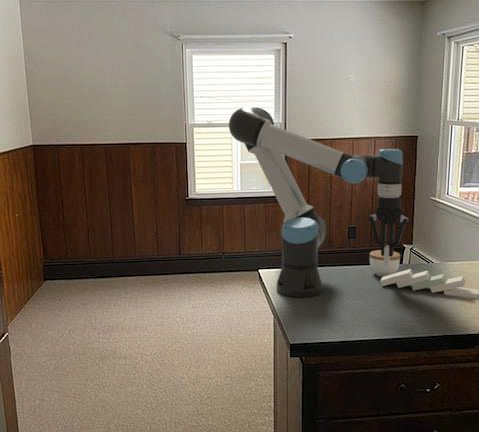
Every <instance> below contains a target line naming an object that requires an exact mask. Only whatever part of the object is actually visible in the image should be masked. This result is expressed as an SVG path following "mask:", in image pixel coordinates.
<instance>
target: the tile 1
mask: <svg viewBox="0 0 479 432" xmlns="http://www.w3.org/2000/svg"><path fill="white" fill-rule="evenodd" d="M413 274H414V272H413V270H412V269H411V268H409V269H406V270H402V271H399V272H395V273H394V274H391V275H387V276H384V277H382V276H381V279H379V280H380V281H379V282H380V285H381V286H382V287H385V286H389V285H392V284H395V283H396V282H400V281H403V280H407V279H411V278H412V276H413ZM396 284H397V283H396Z"/></svg>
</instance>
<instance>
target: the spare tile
mask: <svg viewBox="0 0 479 432" xmlns="http://www.w3.org/2000/svg"><path fill="white" fill-rule="evenodd" d="M446 280H447V279H446V275H445V273H443V274H442V273H441V274H438V275H434V276H430V277H429V280H427V281H423V282H419V283H416V284H412V285H410V286H411V289H412V290H413V291H416V290H417V291H418V290H423V289H426V288H430V287H432V286H437V285H441V284H444V283H445V281H446Z"/></svg>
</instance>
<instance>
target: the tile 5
mask: <svg viewBox="0 0 479 432" xmlns="http://www.w3.org/2000/svg"><path fill="white" fill-rule="evenodd" d="M443 295H446V296H452V297H453V296H454V297H461V298H470V299H475V300H477V299H479V289H476V288H468V287H458V288H453V289H449V290H444V291H443Z"/></svg>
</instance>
